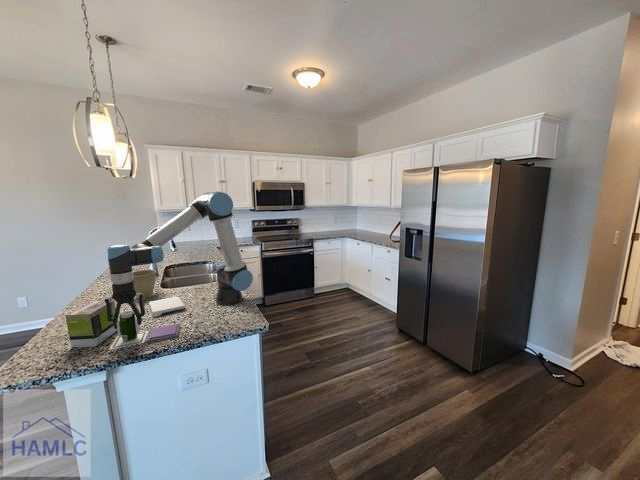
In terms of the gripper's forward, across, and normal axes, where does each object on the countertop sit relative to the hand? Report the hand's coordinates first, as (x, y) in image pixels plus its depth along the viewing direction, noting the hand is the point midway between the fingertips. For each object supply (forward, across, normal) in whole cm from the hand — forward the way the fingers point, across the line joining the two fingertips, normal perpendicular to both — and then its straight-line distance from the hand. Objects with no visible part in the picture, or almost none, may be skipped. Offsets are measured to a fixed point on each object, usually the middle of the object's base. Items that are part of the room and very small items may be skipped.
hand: (129, 333), depth 117 cm
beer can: (+3, 0, 0) cm, 3 cm away
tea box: (+3, -14, +8) cm, 16 cm away
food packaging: (+4, +11, +33) cm, 35 cm away
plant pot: (+3, -4, +59) cm, 59 cm away
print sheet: (+3, 0, 0) cm, 3 cm away
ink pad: (+3, +13, 0) cm, 13 cm away
